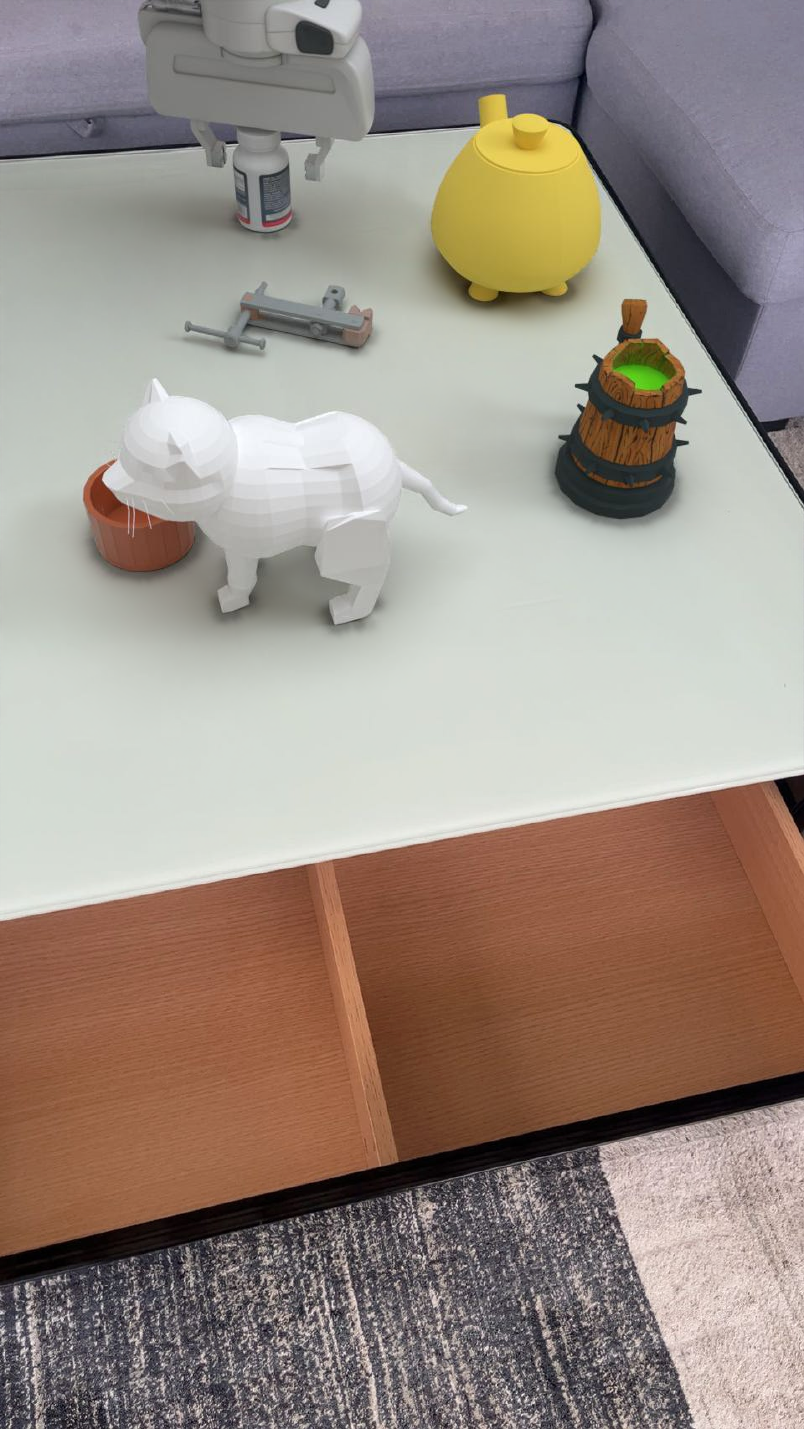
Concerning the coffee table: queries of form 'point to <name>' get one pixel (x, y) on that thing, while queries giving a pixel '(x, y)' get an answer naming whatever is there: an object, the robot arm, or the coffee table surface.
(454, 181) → the teapot
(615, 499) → the mug
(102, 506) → the cup
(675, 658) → the coffee table surface
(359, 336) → the clamp
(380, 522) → the cat figurine
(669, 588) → the coffee table surface
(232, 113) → the robot arm
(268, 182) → the pill bottle
